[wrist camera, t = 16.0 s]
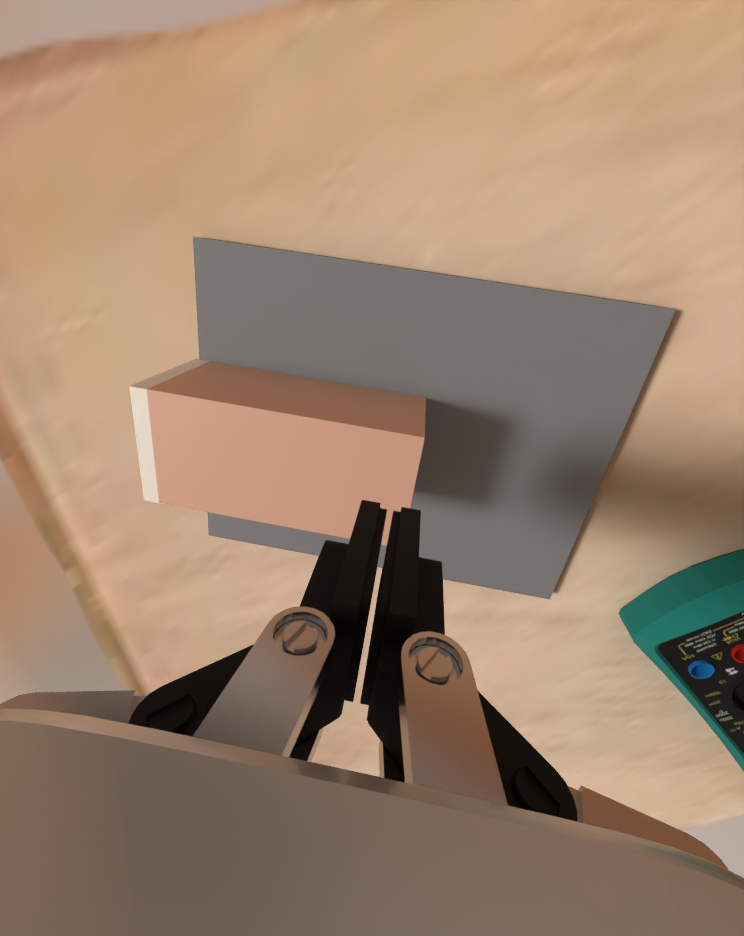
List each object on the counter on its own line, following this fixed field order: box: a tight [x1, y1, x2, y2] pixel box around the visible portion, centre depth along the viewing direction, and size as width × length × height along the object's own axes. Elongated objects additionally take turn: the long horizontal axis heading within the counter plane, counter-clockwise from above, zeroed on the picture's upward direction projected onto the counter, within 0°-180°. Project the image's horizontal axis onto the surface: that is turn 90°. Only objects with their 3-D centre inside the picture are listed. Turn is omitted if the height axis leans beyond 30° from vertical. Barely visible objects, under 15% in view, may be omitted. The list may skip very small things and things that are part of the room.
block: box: [129, 359, 426, 546], centre depth 17 cm, size 4×4×10 cm
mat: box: [193, 237, 676, 599], centre depth 19 cm, size 18×14×1 cm
